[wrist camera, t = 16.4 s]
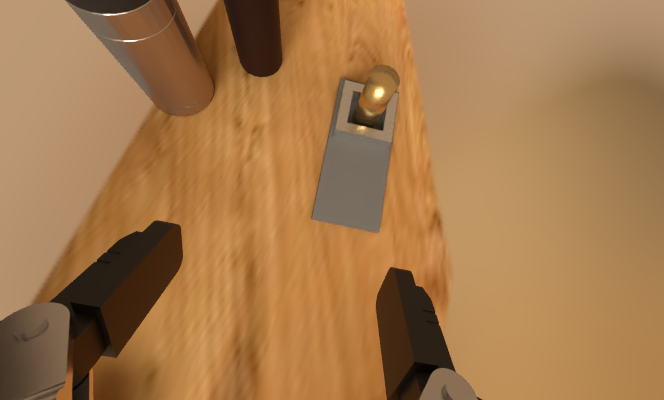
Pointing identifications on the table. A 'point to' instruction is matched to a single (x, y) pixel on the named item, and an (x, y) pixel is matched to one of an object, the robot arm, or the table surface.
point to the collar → (362, 133)
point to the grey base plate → (351, 179)
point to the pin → (375, 95)
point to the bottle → (256, 34)
